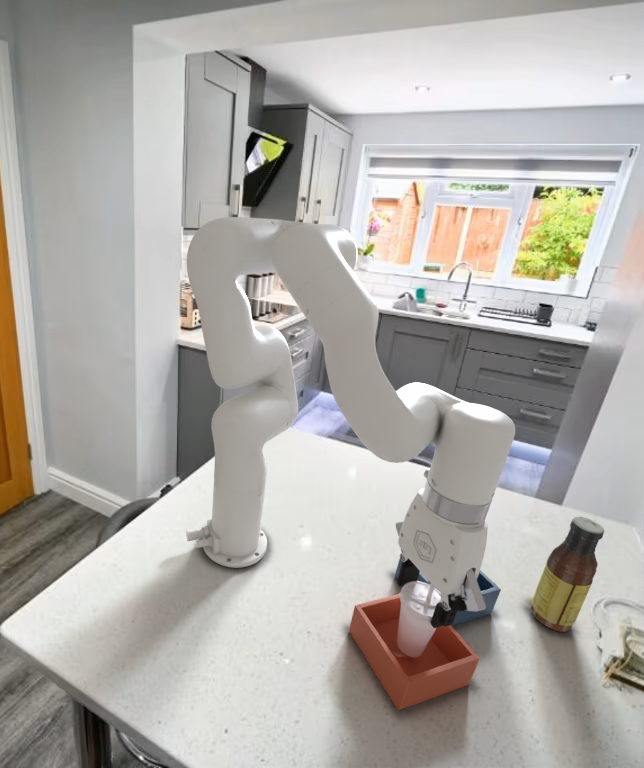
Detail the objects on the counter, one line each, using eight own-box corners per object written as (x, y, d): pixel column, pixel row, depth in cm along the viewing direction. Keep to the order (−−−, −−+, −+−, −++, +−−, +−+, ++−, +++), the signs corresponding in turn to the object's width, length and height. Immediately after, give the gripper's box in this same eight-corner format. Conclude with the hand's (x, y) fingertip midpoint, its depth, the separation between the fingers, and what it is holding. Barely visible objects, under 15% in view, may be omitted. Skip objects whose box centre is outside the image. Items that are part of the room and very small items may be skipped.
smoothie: (439, 668, 62) (465, 596, 57) (394, 664, 62) (416, 592, 57) (422, 628, 68) (445, 559, 63) (382, 625, 68) (401, 556, 63)
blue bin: (438, 629, 71) (447, 604, 69) (394, 576, 81) (400, 553, 79) (491, 613, 75) (501, 589, 72) (443, 564, 84) (450, 541, 82)
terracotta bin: (398, 710, 59) (407, 683, 57) (348, 630, 70) (354, 605, 67) (469, 684, 63) (480, 658, 61) (412, 612, 74) (419, 588, 71)
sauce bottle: (566, 611, 76) (612, 520, 69) (575, 640, 71) (625, 545, 63) (524, 596, 79) (563, 506, 71) (529, 623, 73) (571, 529, 66)
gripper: (388, 465, 61) (365, 562, 68) (488, 553, 46) (446, 667, 53) (431, 459, 64) (404, 553, 71) (539, 541, 49) (492, 651, 56)
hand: (423, 601), depth 62 cm, fingers closed on smoothie, 6 cm apart
